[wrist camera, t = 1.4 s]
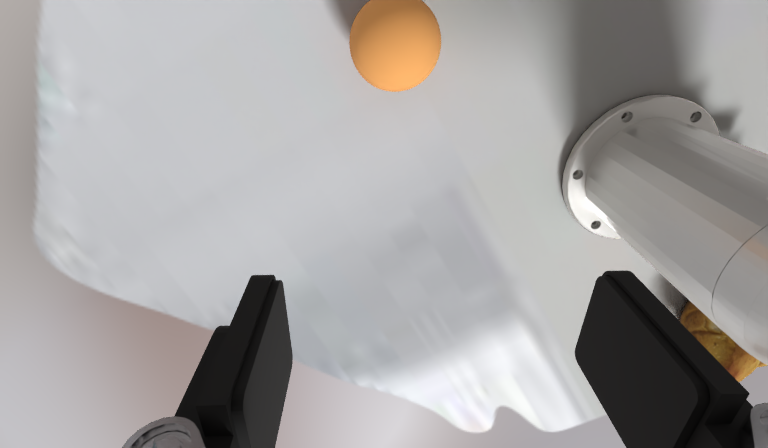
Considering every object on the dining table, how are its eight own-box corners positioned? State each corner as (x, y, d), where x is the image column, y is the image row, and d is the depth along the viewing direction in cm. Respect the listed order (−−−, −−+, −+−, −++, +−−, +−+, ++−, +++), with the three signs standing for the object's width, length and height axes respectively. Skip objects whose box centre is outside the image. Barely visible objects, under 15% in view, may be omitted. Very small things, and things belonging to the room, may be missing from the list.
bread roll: (728, 229, 39) (808, 280, 32) (808, 253, 41) (901, 306, 34) (649, 329, 45) (702, 391, 38) (722, 346, 46) (786, 408, 39)
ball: (436, -7, 29) (453, -9, 23) (431, 83, 31) (444, 100, 26) (349, -8, 28) (346, -10, 23) (352, 83, 31) (349, 100, 26)
